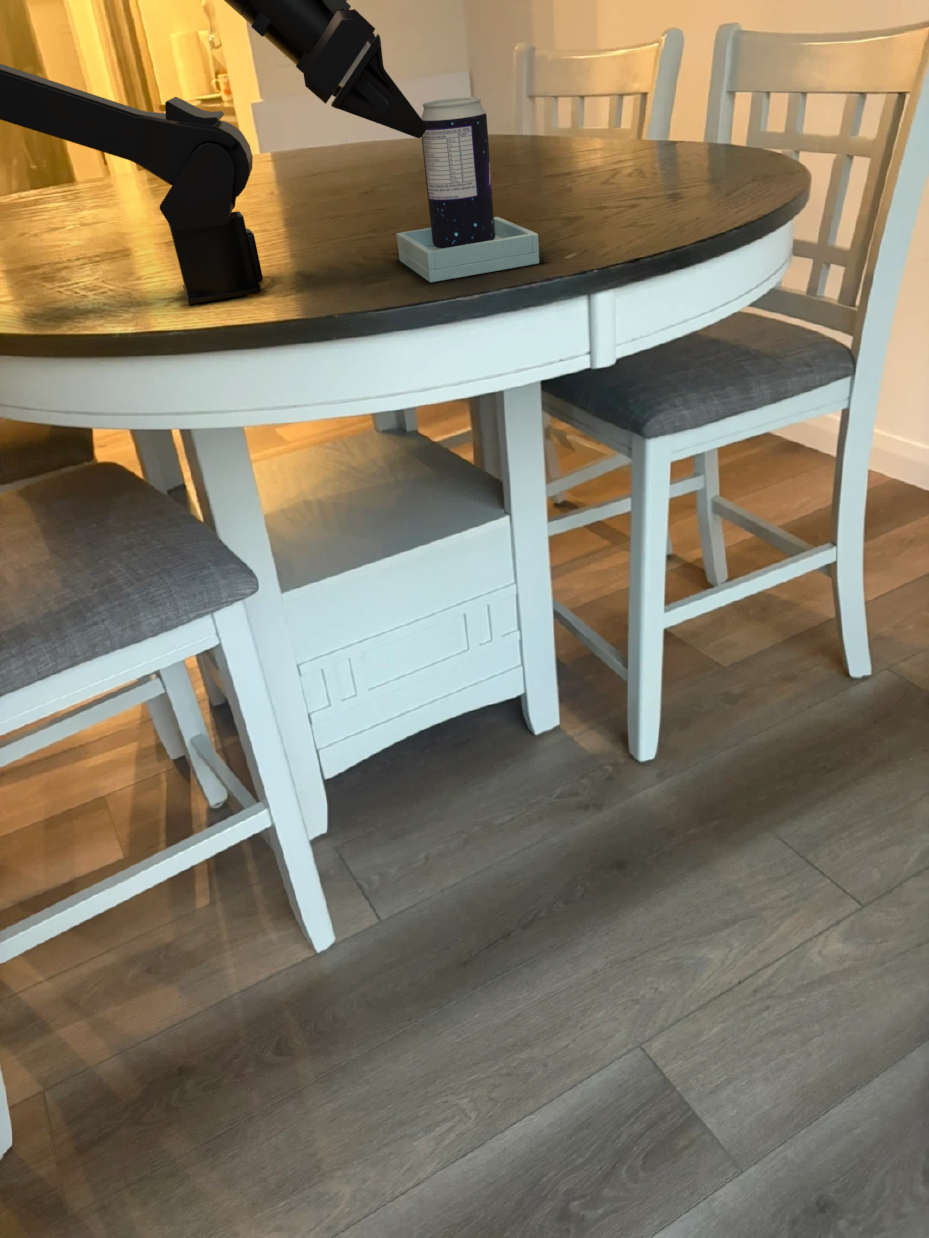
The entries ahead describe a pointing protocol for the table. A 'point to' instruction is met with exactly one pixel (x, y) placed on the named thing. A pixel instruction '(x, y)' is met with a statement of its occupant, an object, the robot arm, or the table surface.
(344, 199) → the table surface
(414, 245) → the rectangular tray
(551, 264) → the table surface
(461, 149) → the beverage can
